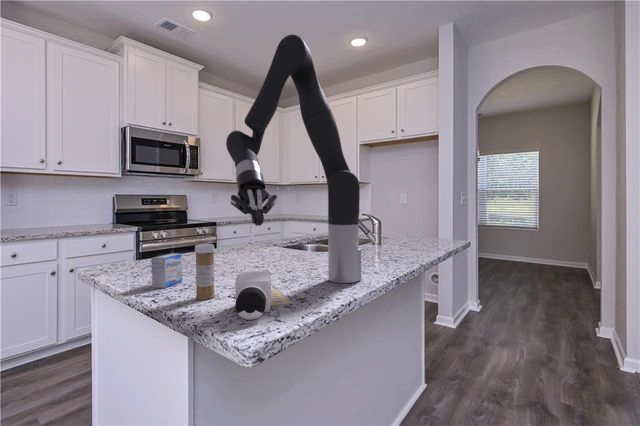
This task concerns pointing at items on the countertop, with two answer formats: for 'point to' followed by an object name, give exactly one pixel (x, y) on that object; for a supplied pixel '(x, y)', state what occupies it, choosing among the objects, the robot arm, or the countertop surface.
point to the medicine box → (166, 270)
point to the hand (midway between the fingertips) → (259, 223)
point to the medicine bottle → (252, 294)
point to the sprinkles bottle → (204, 271)
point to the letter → (277, 298)
